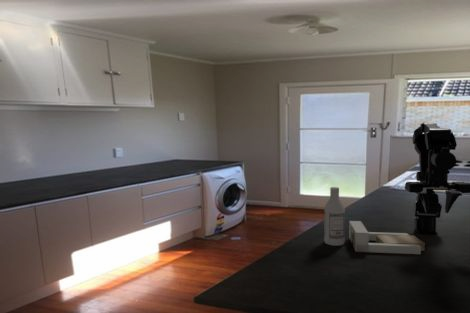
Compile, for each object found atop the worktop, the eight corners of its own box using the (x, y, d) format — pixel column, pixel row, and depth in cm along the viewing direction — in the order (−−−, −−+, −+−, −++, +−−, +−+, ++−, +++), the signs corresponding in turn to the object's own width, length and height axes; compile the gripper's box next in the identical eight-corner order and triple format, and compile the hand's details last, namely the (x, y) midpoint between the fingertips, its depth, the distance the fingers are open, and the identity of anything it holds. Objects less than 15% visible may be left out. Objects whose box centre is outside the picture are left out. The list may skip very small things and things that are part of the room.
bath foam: (348, 244, 122) (349, 188, 120) (333, 247, 119) (333, 190, 117) (335, 238, 128) (335, 185, 127) (320, 241, 125) (320, 187, 124)
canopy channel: (406, 240, 125) (407, 222, 125) (420, 254, 111) (421, 234, 111) (349, 238, 129) (349, 220, 128) (355, 251, 115) (356, 232, 114)
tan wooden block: (413, 243, 123) (413, 235, 122) (424, 251, 115) (424, 243, 114) (376, 243, 124) (376, 235, 123) (384, 251, 116) (384, 243, 115)
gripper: (457, 163, 121) (456, 207, 122) (400, 163, 124) (399, 206, 126) (473, 167, 110) (471, 215, 111) (410, 167, 113) (409, 214, 115)
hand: (436, 212), depth 116 cm, fingers open, 6 cm apart
